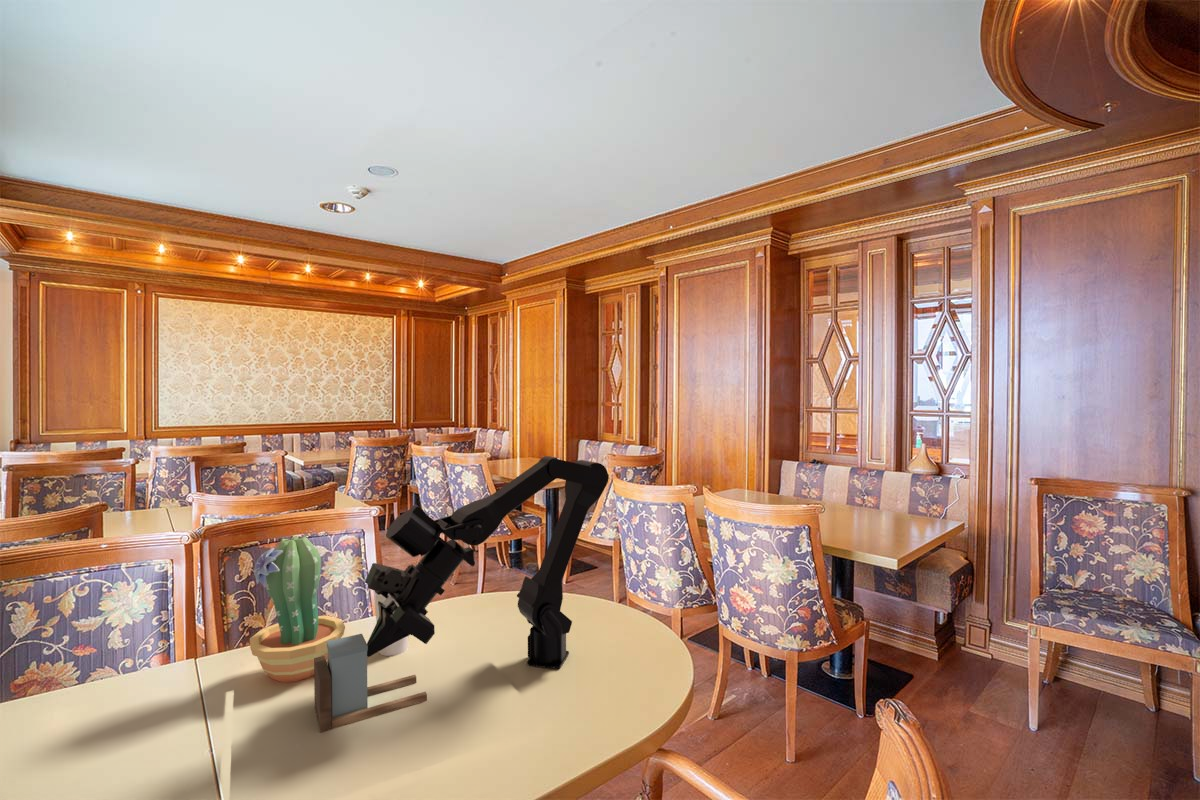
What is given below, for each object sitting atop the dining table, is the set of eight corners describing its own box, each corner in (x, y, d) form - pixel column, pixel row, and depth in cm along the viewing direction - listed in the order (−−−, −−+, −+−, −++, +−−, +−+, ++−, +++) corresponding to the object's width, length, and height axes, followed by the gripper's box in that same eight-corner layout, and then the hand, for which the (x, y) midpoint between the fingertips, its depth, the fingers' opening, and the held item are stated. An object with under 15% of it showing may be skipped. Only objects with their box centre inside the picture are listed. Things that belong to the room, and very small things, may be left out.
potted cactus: (261, 663, 106) (260, 531, 106) (350, 651, 111) (349, 525, 111) (236, 706, 92) (235, 554, 91) (340, 690, 96) (338, 545, 96)
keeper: (362, 697, 92) (361, 633, 92) (368, 713, 87) (367, 645, 87) (327, 707, 89) (326, 641, 89) (331, 723, 85) (330, 653, 84)
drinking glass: (400, 665, 105) (399, 585, 105) (367, 661, 107) (366, 583, 106) (418, 649, 112) (418, 574, 112) (388, 646, 113) (387, 572, 113)
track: (414, 686, 98) (414, 635, 97) (427, 708, 91) (426, 652, 91) (311, 715, 89) (311, 658, 89) (317, 741, 82) (316, 680, 82)
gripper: (384, 533, 100) (317, 609, 94) (410, 558, 84) (332, 652, 78) (430, 568, 104) (369, 642, 99) (463, 598, 88) (393, 689, 83)
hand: (365, 654), depth 89 cm, fingers closed, pressing on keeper
